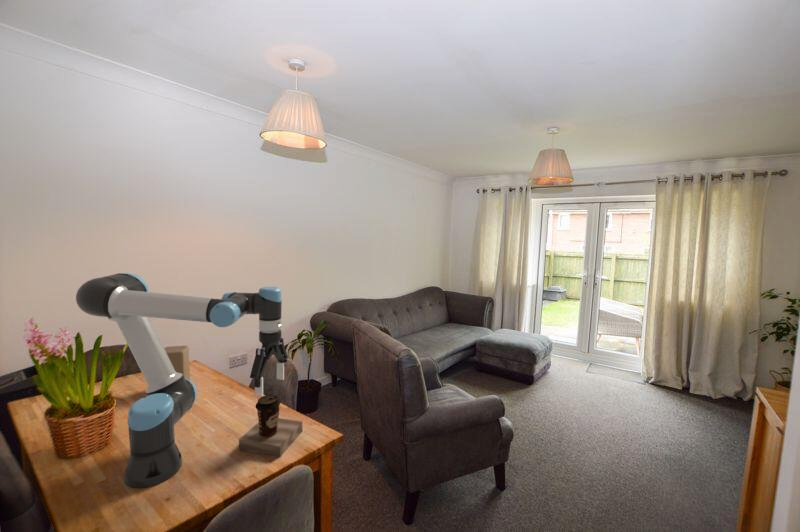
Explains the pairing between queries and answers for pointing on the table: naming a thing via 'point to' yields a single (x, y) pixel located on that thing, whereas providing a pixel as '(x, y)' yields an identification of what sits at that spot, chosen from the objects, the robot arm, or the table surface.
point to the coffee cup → (268, 415)
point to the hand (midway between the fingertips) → (270, 386)
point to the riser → (271, 438)
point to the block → (179, 359)
